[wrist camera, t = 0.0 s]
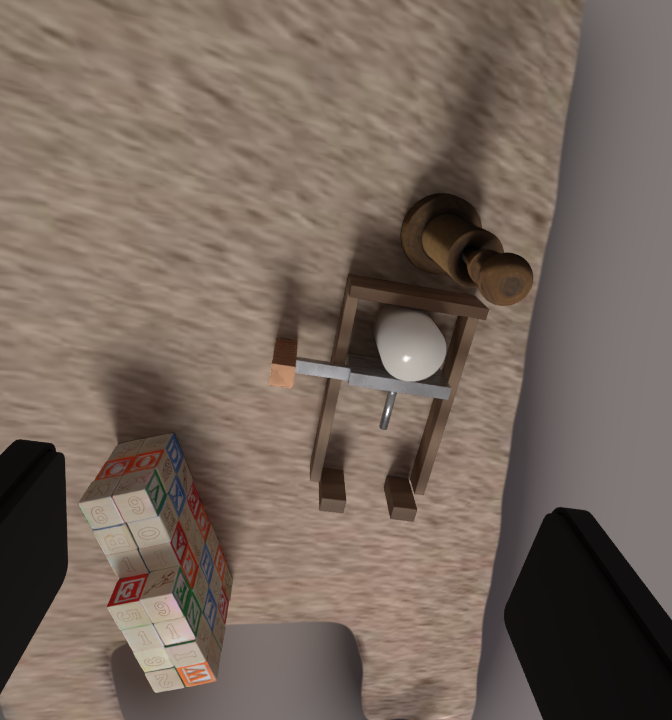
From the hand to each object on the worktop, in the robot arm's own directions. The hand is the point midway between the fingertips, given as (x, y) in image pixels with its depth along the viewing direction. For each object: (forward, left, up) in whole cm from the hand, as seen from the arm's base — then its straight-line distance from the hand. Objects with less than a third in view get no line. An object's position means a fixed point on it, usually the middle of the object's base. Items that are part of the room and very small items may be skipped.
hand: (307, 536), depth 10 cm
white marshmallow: (+7, +10, -37) cm, 39 cm away
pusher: (+14, +7, -37) cm, 40 cm away
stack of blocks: (+33, -9, -37) cm, 51 cm away
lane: (+14, +10, -37) cm, 41 cm away
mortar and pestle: (-2, +11, -37) cm, 39 cm away
